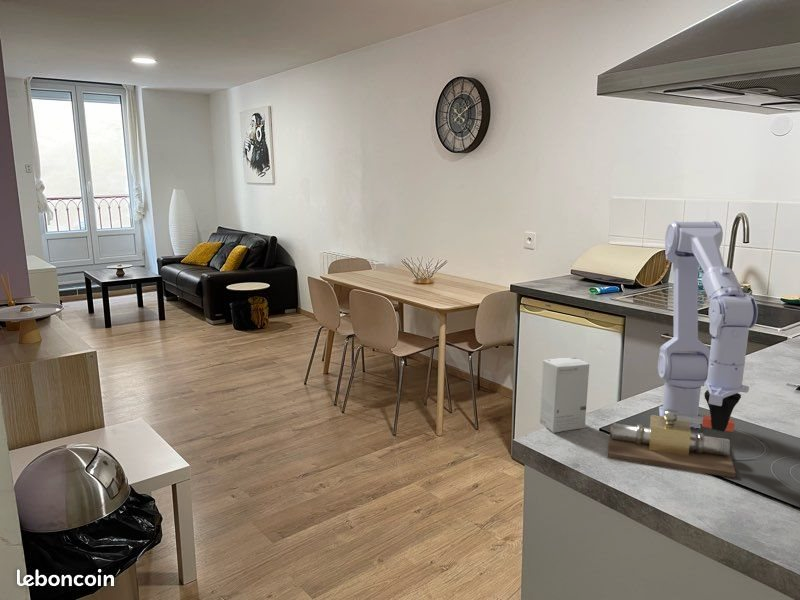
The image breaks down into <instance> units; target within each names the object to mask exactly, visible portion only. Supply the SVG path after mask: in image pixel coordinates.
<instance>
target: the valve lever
mask: <svg viewBox="0 0 800 600" xmlns="http://www.w3.org/2000/svg"><path fill="white" fill-rule="evenodd" d="M664 419H666V420H668V421H677V420H680V421H686V422H692V423H697V424H700V425H702V428H710V429H712V426H711V415H709V414H708V415H707V414H703V415H702V416H701V415H698V416H695V415H689V414H683V413H679V412H678V411H676V410H672V409H666V410H664ZM734 428H735V419H729V422H728V425H727V428H726V429H725V431H727V432H732V433H734Z"/></svg>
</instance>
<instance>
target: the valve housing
mask: <svg viewBox="0 0 800 600" xmlns="http://www.w3.org/2000/svg"><path fill="white" fill-rule="evenodd" d="M649 419H650V420H649V427H644V426H643V425H642V424H636V425H628V424H622V423H621V424H620V423H616V422H615V423H614V422H613V423H612V425H613V432H612V439H616V440H622V441H629V442H636V444H637V445H641V443H642V444H649V450H651V451H657V452H664V453H670V454H677V455H683V456H689V451H696V453H697V454H702V453H709V454H716V455H723V456H729V453H730V450H731V442H730V439H728V438H723V437H722V438H721V437H717V436H716V437H714V436H707V435H704V433H701V432H696V434H693V433H692V430H691V429H692V428H690V424H689V422H686V421H680V420H677V421H668V420H666V419H664V417H663V416H660V415H654V414H651V415H650V418H649Z"/></svg>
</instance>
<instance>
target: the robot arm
mask: <svg viewBox="0 0 800 600" xmlns="http://www.w3.org/2000/svg"><path fill="white" fill-rule="evenodd" d="M723 235H724V231H723V227H722V225H721V224H720V223H719V222H718V221H715V220H714V221H713V220H712V221H677V220H672V221H671V222H670V223H669V224H668V225H667V227H666V232H665V237H664V241H665V242H664V250H665V251H664V253H665V260H666V261H668V262H670V263H672V270H673V337H672V338H671V339H669V340H668V341H666V342H665V343H663V344H662V345H660V348H659V355H658V356H659V357H658V358H657V359H658V360H657V371H658V375H659V378H660V379H661V380H662V381H664V389H663V399H662V405H661V406H659V407H658V412H659V416H663V417H664V410H666V409H672V410H676V411H678V412H679V413H683V414H689V415H695V416H699V407H700V399H701V390H702V389H701V388H702V387H704V386H705V387H706V389H707V390H705V392H704V399H705V402H706V403H707V405H708V409H709V413H710V414H709V416H711V426H712V428H711V430H715V431H718V432H719V431H720V432H724V433H725V431H726V430H725V429H726V428H727V425H728V422H729V419H730V418H731V415H732V412H733V410H734V409H735V407H736V406H737V404H738V403H739V402H740V399H741V398H742V394H741V393H745V394H747V393H749V391H750V386H748V385H744V384H743V380H744V372H745V362H746V358H747V357H746V356H747V355H746V354H747V347H748V339H749V331H750V329H751V328H753V327H754V326H755V325H756V323H757V322H758V321H757V320H758V316H759V314H758V313H759V309H758V303H757V302H756V298H755V297H754V296H753V295H749V293H748V292H744V291H743V289H742V287H741V285H740V282H739V280H738V278H737V276H736V275H735V271H733V269H732V268H730V267H728V266H725V263H724V260H723V257H722V254H721V250H720V248H721V245H722V242H723ZM699 266H700V268H701V269H702V271H703V275H702V277H701V284H702V287H703V289H704V291H705V293H706V296H707V299H708V303H709V307H708V320H709V321H708V322H709V330H708V331H709V334H710V335H711V339H710V347H709V346H708V345H706V344H705V343H703V342H702V341H701V340H700V339H699ZM685 352H689V353H685ZM692 352H695V353H692ZM689 424H690V427H694V428H693V429H696V428H699V429H698V430H700V429H701V424H697V423H692V422H689Z"/></svg>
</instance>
